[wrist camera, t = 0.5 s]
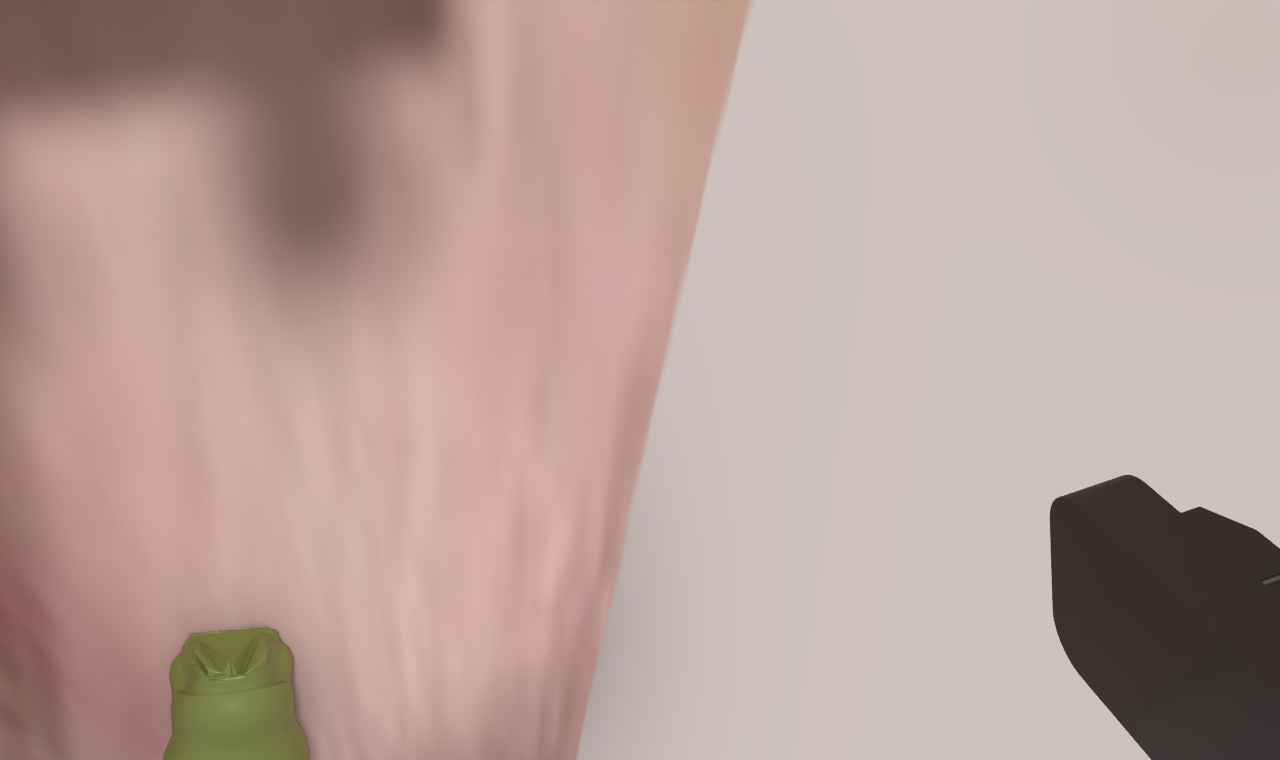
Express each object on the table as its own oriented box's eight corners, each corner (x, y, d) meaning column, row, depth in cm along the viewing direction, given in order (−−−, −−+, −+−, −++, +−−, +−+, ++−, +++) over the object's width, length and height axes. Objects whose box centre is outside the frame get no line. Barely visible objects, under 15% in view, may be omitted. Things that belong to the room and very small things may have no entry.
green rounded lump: (164, 900, 44) (145, 695, 39) (170, 797, 48) (153, 604, 44) (315, 873, 45) (312, 675, 41) (307, 777, 50) (303, 589, 46)
